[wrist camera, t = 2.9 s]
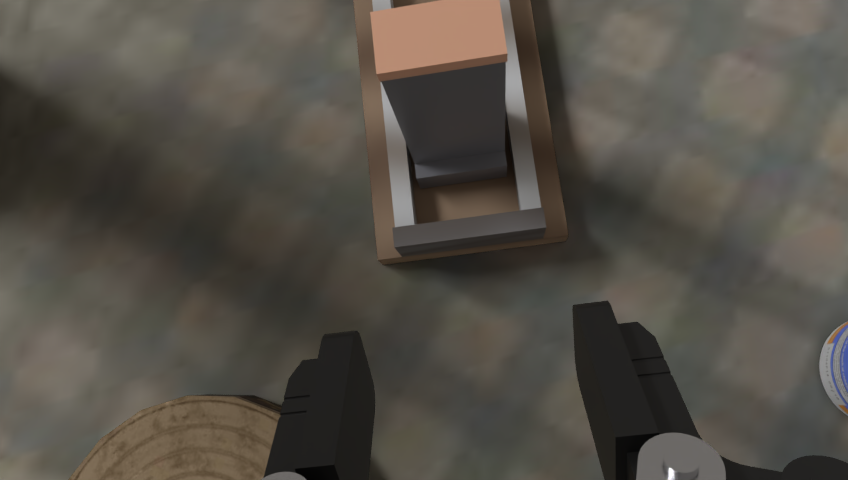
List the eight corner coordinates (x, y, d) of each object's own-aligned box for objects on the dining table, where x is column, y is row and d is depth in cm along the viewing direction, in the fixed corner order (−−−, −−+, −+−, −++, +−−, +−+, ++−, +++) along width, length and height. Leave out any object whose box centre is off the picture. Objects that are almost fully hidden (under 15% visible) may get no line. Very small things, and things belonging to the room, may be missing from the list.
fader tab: (507, 176, 34) (510, 72, 22) (419, 189, 34) (378, 93, 23) (497, 106, 35) (495, -28, 23) (412, 119, 35) (368, -6, 24)
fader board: (565, 241, 34) (573, 223, 31) (382, 264, 35) (368, 250, 31) (509, -107, 39) (510, -160, 35) (350, -78, 40) (334, -127, 36)
